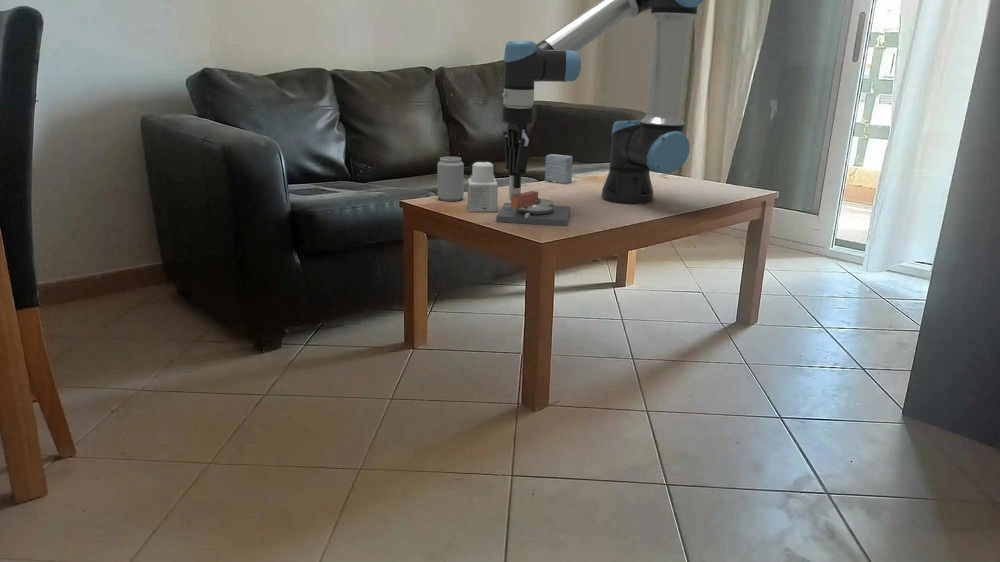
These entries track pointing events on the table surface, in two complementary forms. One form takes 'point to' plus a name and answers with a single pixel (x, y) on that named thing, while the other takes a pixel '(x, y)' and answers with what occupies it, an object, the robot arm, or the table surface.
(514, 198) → the dial
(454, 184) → the can
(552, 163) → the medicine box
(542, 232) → the table surface
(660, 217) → the table surface
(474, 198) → the container
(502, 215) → the plate
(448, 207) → the table surface
